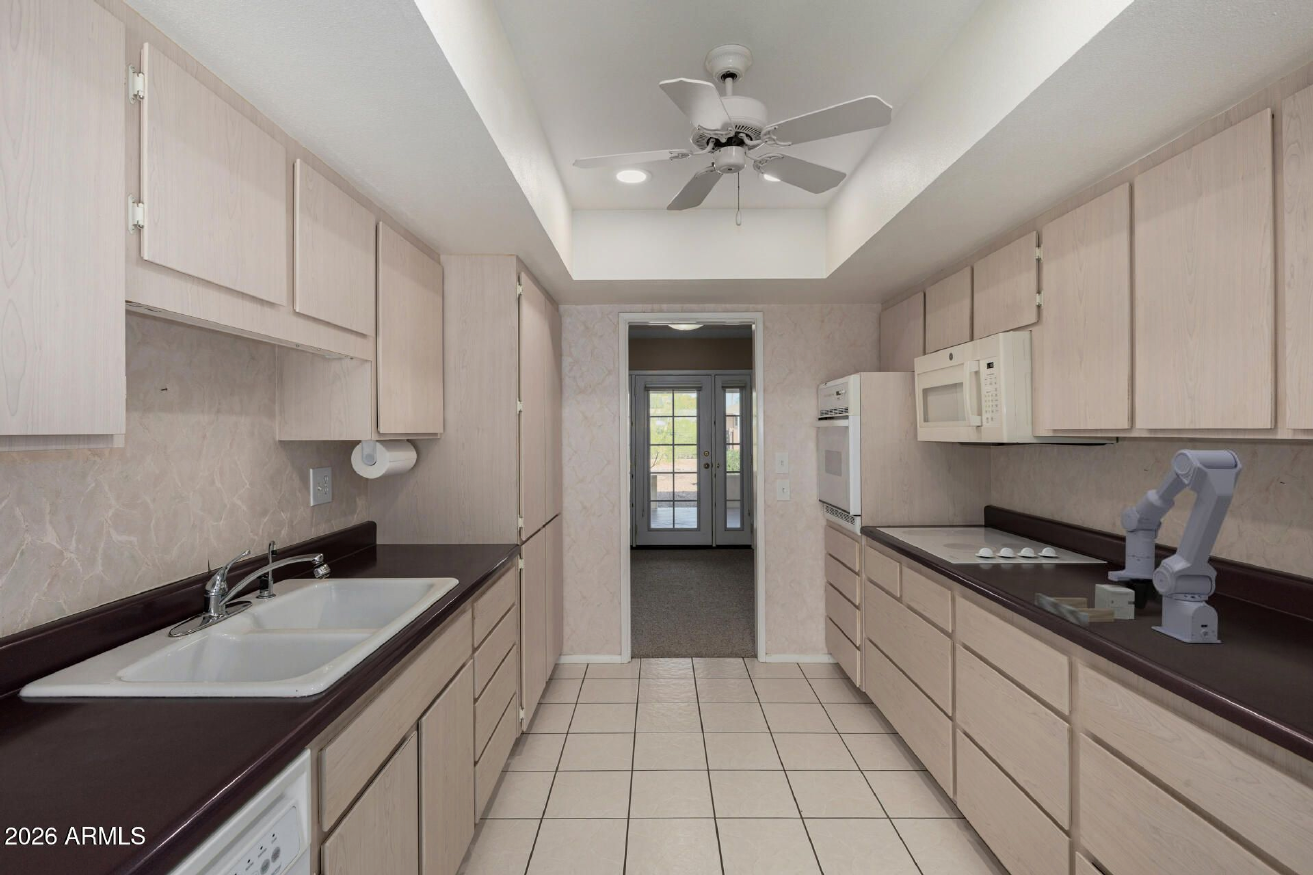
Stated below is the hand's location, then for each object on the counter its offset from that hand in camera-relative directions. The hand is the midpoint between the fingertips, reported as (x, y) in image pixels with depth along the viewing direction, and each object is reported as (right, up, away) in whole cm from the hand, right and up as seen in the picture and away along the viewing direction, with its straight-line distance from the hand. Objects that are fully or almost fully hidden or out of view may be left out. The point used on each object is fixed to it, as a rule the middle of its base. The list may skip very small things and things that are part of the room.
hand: (1138, 608), depth 149 cm
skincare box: (-6, -2, 0) cm, 7 cm away
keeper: (-15, -2, 0) cm, 15 cm away
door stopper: (+17, -2, +14) cm, 22 cm away
